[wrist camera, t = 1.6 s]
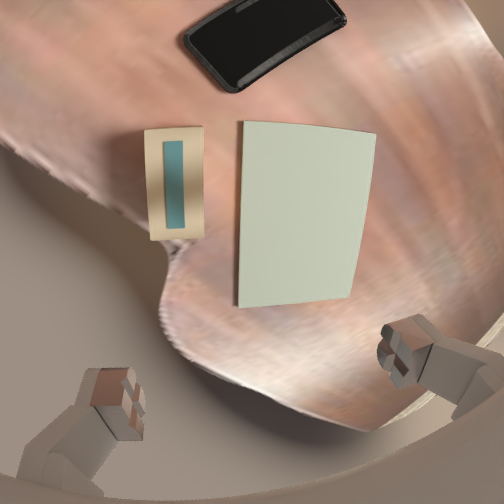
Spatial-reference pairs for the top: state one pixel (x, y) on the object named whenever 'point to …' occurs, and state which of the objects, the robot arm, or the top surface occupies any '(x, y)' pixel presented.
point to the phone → (259, 37)
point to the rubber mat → (301, 211)
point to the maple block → (175, 182)
